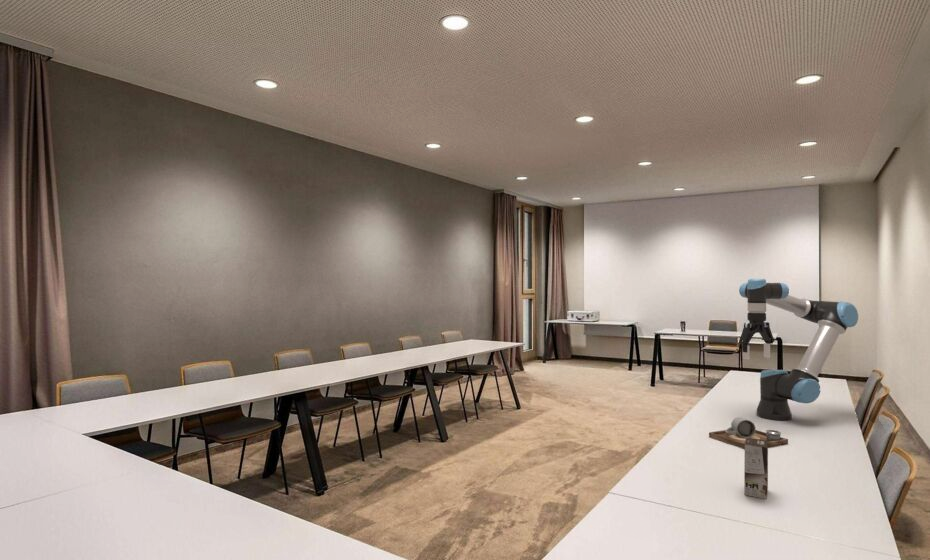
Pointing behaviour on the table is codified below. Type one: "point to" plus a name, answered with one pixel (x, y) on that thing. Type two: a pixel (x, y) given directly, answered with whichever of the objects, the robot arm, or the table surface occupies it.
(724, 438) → the tray
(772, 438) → the sugar tin
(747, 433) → the ceramic mug
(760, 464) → the coffee box
